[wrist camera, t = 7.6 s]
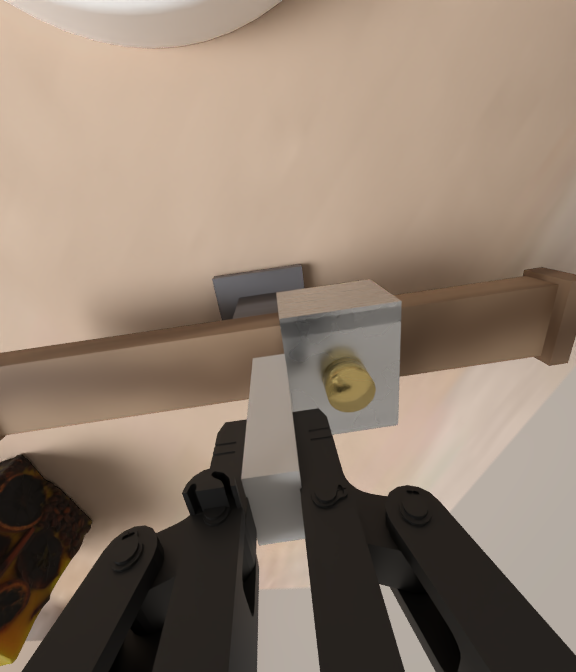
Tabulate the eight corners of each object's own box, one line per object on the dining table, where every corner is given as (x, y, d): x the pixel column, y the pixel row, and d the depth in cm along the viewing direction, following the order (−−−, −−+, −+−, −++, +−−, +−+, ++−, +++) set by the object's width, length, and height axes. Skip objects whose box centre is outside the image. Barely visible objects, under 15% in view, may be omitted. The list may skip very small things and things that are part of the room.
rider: (276, 292, 15) (280, 330, 11) (369, 279, 16) (415, 310, 11) (291, 392, 18) (300, 459, 13) (371, 381, 18) (408, 442, 13)
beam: (25, 303, 20) (-102, 354, 13) (486, 237, 20) (600, 252, 13) (70, 389, 23) (-16, 467, 16) (473, 329, 23) (562, 381, 16)
